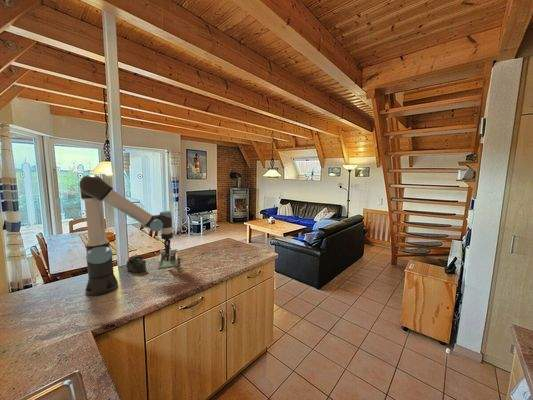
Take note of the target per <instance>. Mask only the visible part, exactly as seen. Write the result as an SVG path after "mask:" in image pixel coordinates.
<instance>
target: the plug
mask: <svg viewBox="0 0 533 400" xmlns="http://www.w3.org/2000/svg"><path fill="white" fill-rule="evenodd" d="M170 255H171V258H170V260H174V258H175V257H174V251H170ZM164 256H165V252H164ZM164 261H166V259H165V257H164Z"/></svg>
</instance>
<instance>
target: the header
mask: <svg viewBox="0 0 533 400" xmlns="http://www.w3.org/2000/svg"><path fill="white" fill-rule="evenodd" d="M169 250H170V251H174V257H175V258H174V260H170V265H168V266H166V261H164V252H165V249H163V250H159V257H158V264H157V269H158V270H159V269H166V268H168V269H169V268H174V267H175V268H176V267H179V255H178V248H173V249H172V248H171V249H169Z"/></svg>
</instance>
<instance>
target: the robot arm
mask: <svg viewBox="0 0 533 400" xmlns="http://www.w3.org/2000/svg"><path fill="white" fill-rule="evenodd" d="M78 185H79V189H80V190H79V192H80V199H81V200H82V201H84V206H85V217H86V218H85V219H86V227H87V228H86V229H87V236H88V237H87V238H88V241H87V242H86V243H85V250H86V256H85V258H86V259H85V260H86V264H87V265H86V267H87V275H88V278H87V283H86V287H85V295H87V296H89V297H97V296H102V295H106V294H110V293H112V292H113V291H115V290H117V289H118V287H119V281H118V280H117V278H116V275H115V274H114V263H113V250H112V248H111V246H110V240H109V239H107V234H106V233H107V232H106V223H105V211H104V210H105V209H104V203H107V205H110V206H112V207H113V208H115V209H117V211H120V212H121V213H123V214H125V215H127V216H128V217H129V218H131V219H132V220H134V221H136V222H138V223H140V226H141V227H142V228H146V229H147V228H148V229H150V231H152V232H160V233H161V234H160V237H161V240H164V242H163V243H164V250H165V256H164V257H165V259H166V266H168V265H170V258H171V255H170V250H171V249H172V247H171V239H173V238H174V237H173V236H174V234H173V230H174V227H173V215H172V212H171V210H161V211H160V212H159V214H155V215H152V214H151V213H150V212H148V211H146V210H145V209H143V208H142V207H140V206H139V205H137V204H136V203H134V202H132V201H131V200H129V199H128V198H126V197H125V196H123V195H122V194H120V193H118V192H117V191H115V189H114V187H112V186H111V185H109V183H108V182H106V181H105V179H103V178H102V177H100V176H99V175H96V174H86V175H84V176H83V177H82V178H80V180H79V183H78Z"/></svg>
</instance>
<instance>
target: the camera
mask: <svg viewBox="0 0 533 400" xmlns="http://www.w3.org/2000/svg"><path fill="white" fill-rule="evenodd" d="M146 263H147V260H145V259H143V255H132V256H131V258H129V259H128V260H127V261H126V269H127V270H128V271H130V272H133V273H136V274H141V273H144V272H145V271H146V270H147V269H146V268H147V265H146Z"/></svg>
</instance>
